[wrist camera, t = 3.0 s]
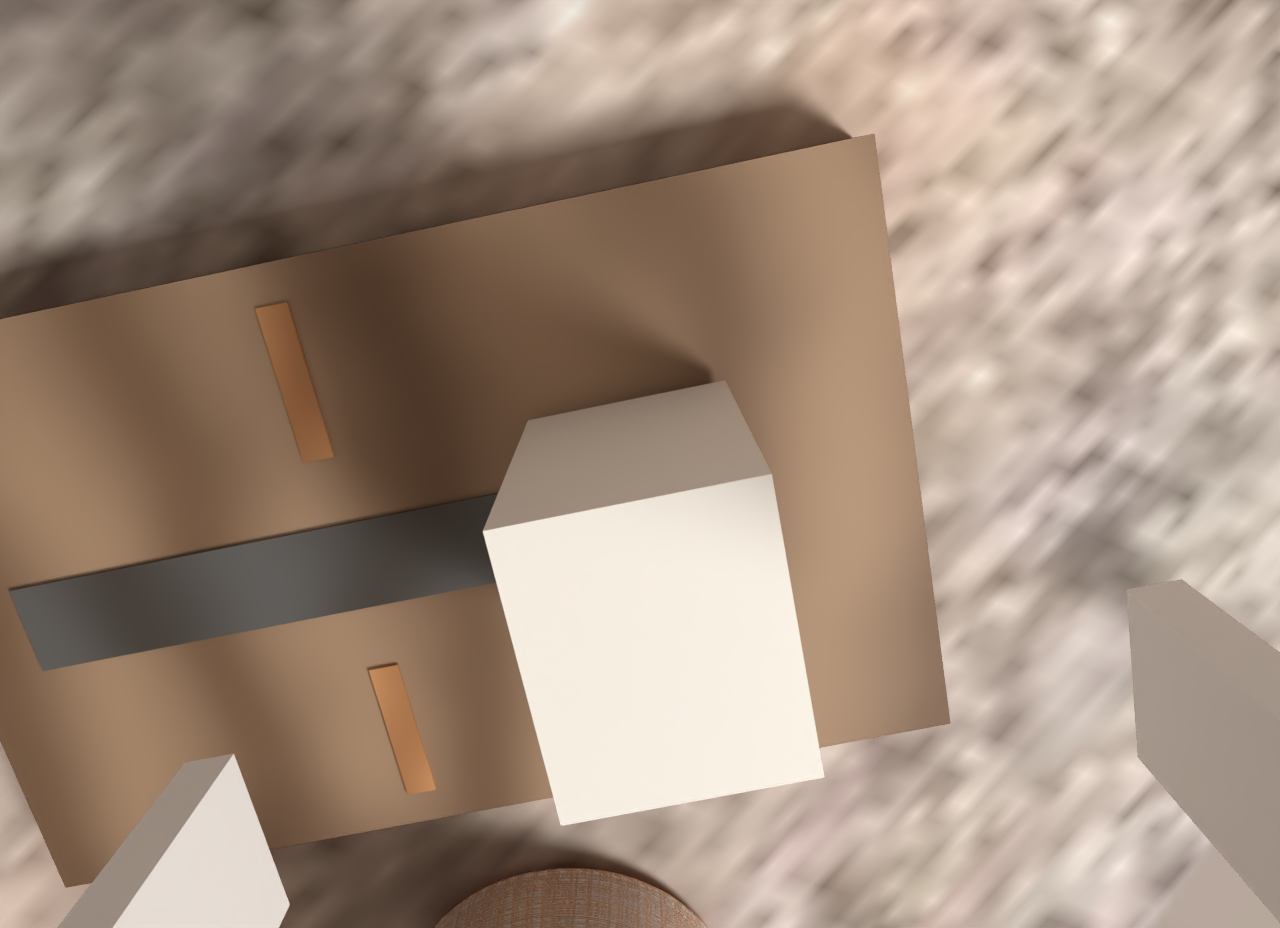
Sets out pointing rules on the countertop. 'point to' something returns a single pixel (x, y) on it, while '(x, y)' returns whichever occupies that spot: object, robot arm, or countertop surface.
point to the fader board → (425, 492)
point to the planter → (570, 903)
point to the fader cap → (652, 605)
